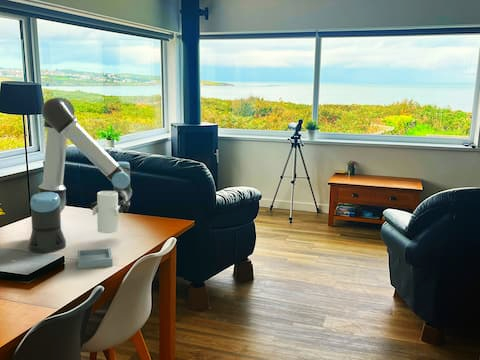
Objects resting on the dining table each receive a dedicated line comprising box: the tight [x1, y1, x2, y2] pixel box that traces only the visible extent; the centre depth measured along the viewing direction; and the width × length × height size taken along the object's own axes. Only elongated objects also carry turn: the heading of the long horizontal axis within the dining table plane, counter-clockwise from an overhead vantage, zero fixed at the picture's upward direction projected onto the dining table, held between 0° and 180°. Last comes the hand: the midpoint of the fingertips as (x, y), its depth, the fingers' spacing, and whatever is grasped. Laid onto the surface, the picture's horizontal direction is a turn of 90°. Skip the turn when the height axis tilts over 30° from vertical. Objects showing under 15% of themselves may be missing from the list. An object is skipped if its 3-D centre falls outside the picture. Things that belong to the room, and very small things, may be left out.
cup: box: [96, 190, 119, 234], centre depth 193 cm, size 8×8×16 cm
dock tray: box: [77, 247, 114, 269], centre depth 188 cm, size 13×13×3 cm
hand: (104, 212), depth 188 cm, fingers closed on cup, 8 cm apart
